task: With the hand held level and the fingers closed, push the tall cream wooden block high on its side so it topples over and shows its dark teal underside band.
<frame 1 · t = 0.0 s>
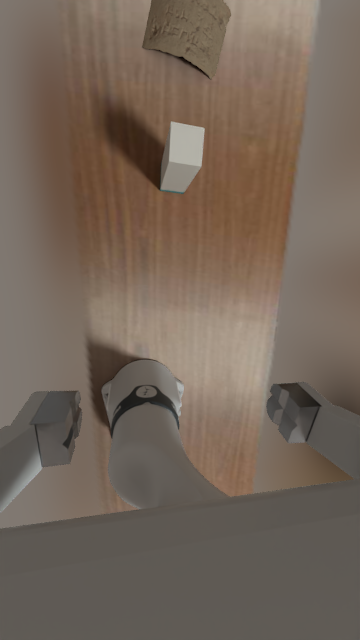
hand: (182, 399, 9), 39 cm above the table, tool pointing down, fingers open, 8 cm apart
block: (172, 179, 42), on the table
clay tablet: (185, 35, 37), on the table
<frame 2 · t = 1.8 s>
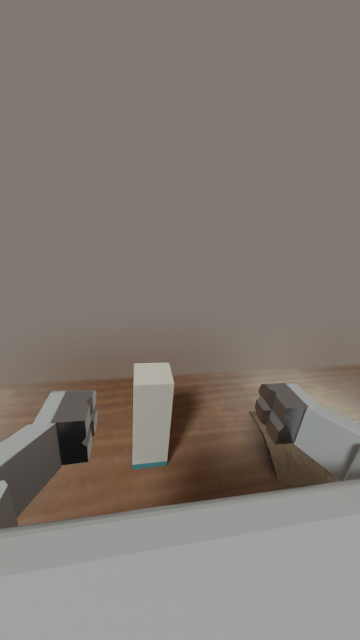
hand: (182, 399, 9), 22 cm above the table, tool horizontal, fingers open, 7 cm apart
block: (149, 451, 31), on the table
clay tablet: (290, 447, 35), on the table
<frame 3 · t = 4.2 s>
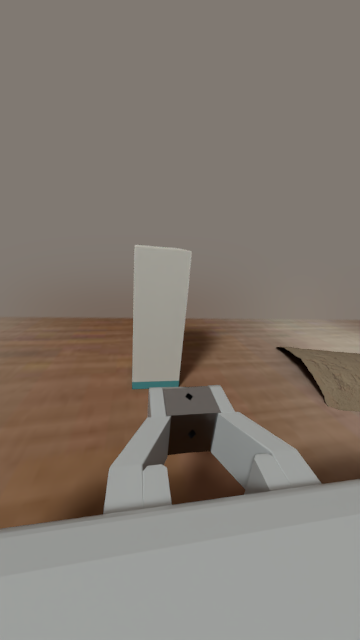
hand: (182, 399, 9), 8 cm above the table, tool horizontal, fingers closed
block: (154, 374, 24), on the table
clay tablet: (333, 380, 27), on the table
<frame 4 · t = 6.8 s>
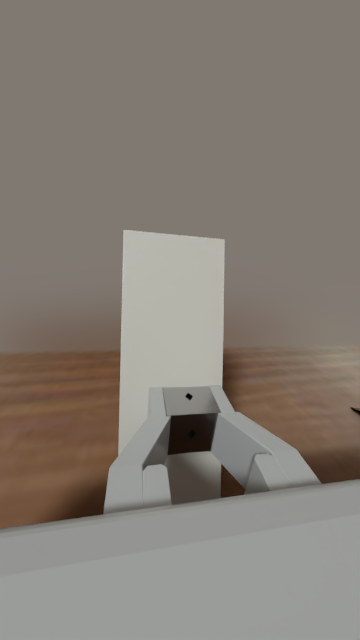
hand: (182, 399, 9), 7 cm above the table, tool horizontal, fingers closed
block: (164, 495, 12), point 1 cm above the table, tilted 21°
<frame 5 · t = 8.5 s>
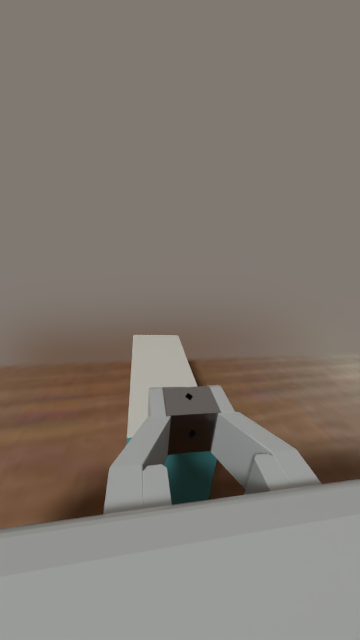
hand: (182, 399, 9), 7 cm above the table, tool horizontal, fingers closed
block: (171, 481, 11), point 2 cm above the table, tilted 90°
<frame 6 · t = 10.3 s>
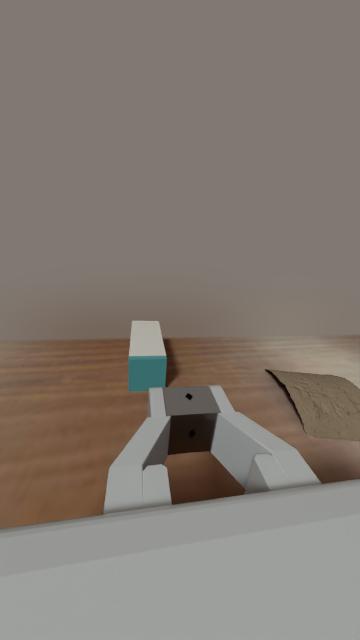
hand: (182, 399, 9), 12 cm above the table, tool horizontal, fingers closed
block: (147, 375, 27), point 2 cm above the table, tilted 90°
clay tablet: (316, 404, 29), on the table
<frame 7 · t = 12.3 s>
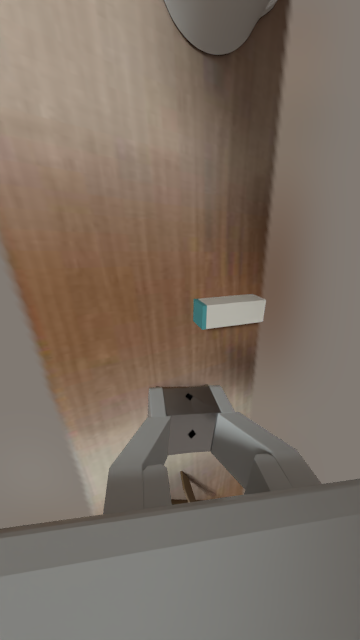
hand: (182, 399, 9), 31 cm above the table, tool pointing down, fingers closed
block: (197, 313, 41), point 2 cm above the table, tilted 90°
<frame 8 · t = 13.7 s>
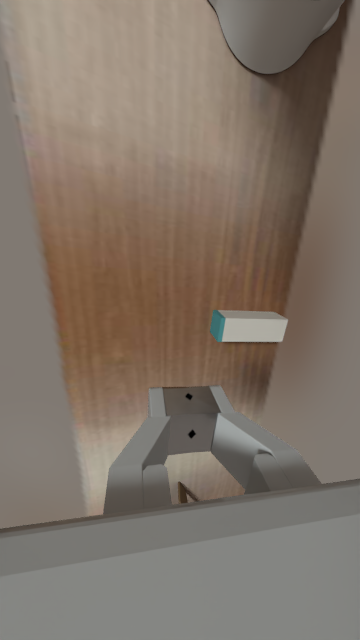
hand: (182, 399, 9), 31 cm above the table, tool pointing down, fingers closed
block: (215, 325, 41), point 2 cm above the table, tilted 90°
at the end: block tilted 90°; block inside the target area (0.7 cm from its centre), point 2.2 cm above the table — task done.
